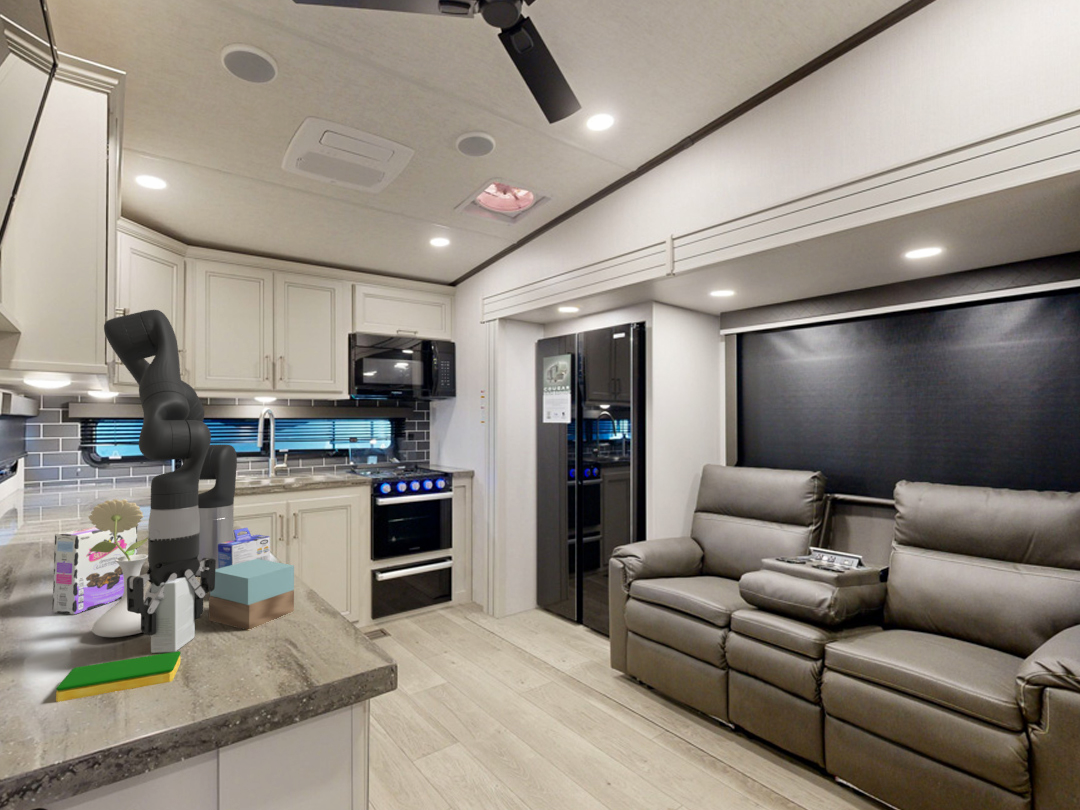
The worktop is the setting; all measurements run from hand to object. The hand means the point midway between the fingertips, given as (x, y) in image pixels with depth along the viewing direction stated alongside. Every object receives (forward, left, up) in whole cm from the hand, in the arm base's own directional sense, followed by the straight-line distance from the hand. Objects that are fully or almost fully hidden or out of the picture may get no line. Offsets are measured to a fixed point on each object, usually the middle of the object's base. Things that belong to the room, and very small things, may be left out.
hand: (173, 626), depth 94 cm
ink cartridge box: (-25, -15, -4) cm, 29 cm away
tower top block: (-16, 0, +1) cm, 16 cm away
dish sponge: (+11, +6, -4) cm, 13 cm away
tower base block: (-15, 0, -4) cm, 16 cm away
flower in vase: (0, -15, -4) cm, 15 cm away
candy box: (-7, -38, -4) cm, 39 cm away
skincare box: (0, 0, -4) cm, 4 cm away
